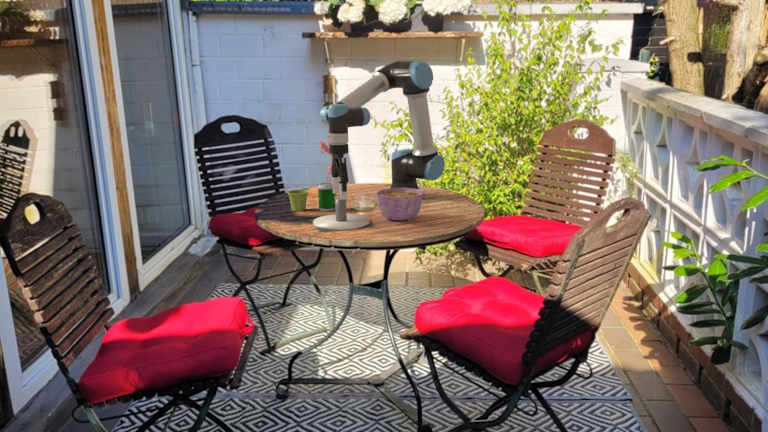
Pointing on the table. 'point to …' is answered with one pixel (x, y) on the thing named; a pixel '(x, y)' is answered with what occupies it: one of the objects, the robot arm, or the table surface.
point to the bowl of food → (399, 203)
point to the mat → (339, 230)
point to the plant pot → (298, 199)
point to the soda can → (326, 197)
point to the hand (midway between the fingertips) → (340, 196)
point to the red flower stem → (326, 149)
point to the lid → (341, 219)
